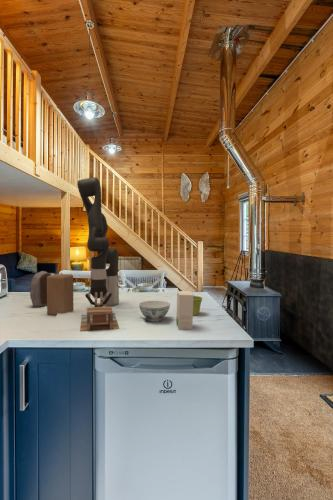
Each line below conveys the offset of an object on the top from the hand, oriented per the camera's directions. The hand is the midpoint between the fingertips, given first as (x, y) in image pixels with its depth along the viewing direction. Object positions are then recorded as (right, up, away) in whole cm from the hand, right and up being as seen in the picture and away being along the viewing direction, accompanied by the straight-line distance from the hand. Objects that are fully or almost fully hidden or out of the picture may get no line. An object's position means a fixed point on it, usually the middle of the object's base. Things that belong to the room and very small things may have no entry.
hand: (98, 312), depth 148 cm
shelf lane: (+3, -3, -11) cm, 12 cm away
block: (-22, -2, +8) cm, 23 cm away
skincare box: (+42, -4, -14) cm, 44 cm away
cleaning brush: (-39, -1, +26) cm, 47 cm away
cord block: (+1, -1, -4) cm, 5 cm away
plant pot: (+48, -3, +9) cm, 49 cm away
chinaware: (+28, -3, -2) cm, 28 cm away
